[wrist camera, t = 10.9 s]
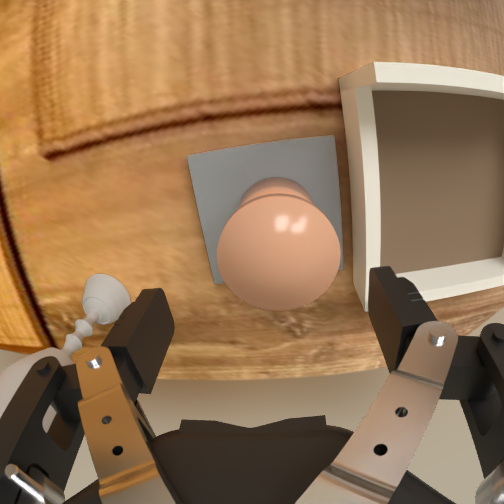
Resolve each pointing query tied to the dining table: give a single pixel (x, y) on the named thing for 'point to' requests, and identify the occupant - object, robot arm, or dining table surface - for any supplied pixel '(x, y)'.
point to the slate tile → (255, 169)
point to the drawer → (426, 176)
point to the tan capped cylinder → (278, 247)
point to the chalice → (70, 335)
